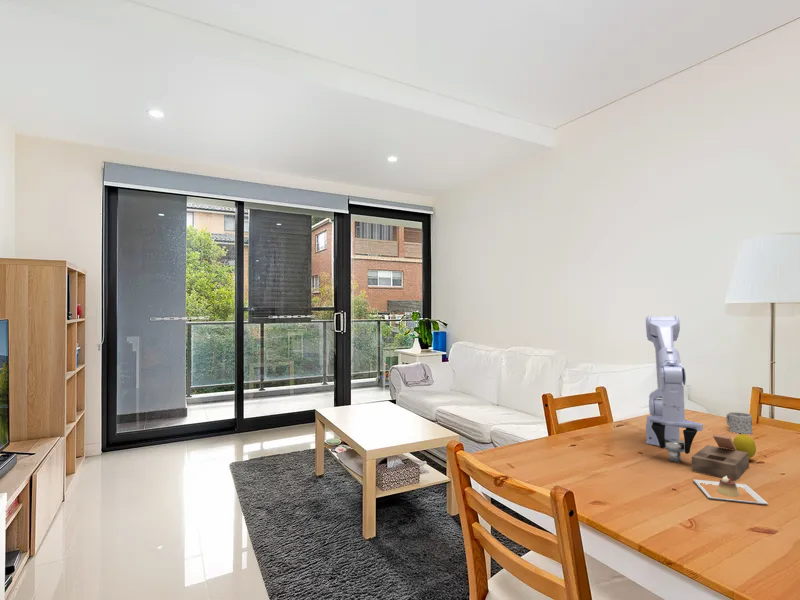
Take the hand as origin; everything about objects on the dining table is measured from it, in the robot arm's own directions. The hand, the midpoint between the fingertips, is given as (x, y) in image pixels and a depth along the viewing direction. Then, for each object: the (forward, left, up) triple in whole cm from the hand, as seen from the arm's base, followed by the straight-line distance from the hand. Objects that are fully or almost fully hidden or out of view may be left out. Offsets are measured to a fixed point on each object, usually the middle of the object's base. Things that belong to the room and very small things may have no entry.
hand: (674, 450), depth 132 cm
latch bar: (+11, +7, +3) cm, 13 cm away
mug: (+5, +54, -3) cm, 54 cm away
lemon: (+14, +16, -3) cm, 22 cm away
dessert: (+16, -17, -4) cm, 24 cm away
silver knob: (0, 0, -3) cm, 3 cm away
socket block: (+11, +2, -3) cm, 12 cm away
